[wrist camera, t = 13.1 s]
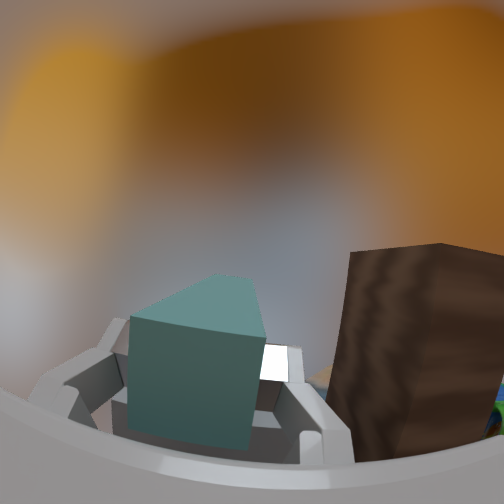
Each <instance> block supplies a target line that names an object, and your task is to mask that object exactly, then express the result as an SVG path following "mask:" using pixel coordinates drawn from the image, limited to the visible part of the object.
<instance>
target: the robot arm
mask: <svg viewBox="0 0 504 504" xmlns="http://www.w3.org/2000/svg"><path fill="white" fill-rule="evenodd" d="M129 327H130V320H125V319H121V318H117V317H116V318H114V319H113V320H112V322H111V323H110V325H109V327H108V328H107V330H106V332H105V333H104V335H103V337H102V339H101V341H100V342H99V344H98V346H97V347H96V348H93V347H92V348H90V349H88V350H87V351H85V352H83V353H81V354H80V355H78V356H76V357H74V358H72V359H70V360H68V361H66V362H65V363H63V364H61V365H59V366H57V367H55V368H53V369H52V370H50V371H48V372H46V373H44V374H42V376H41V378H40V380H39V381H38V383H37V385H36V386H35V388H34V389H33V391H32V393H31V395H30V396H29V398H28V400H25V399H23V398H20V397H19V396H17V395H15V394H13V393H11V392H9V391H7V390H5V389H3V388H2V387H0V504H504V435H497V436H494V437H491V438H488V439H485V440H481V441H478V442H474V443H471V444H467V445H463V446H459V447H455V448H451V449H447V450H442V451H438V452H433V453H428V454H422V455H417V456H411V457H404V458H397V459H390V460H381V461H371V462H359V463H355V461H354V453H353V446H352V439H351V433H350V429H349V428H348V427H347V426H346V425H345V424H344V423H343V422H342V420H341V419H340V418H339V417H338V416H337V415H336V414H335V413H334V411H333V410H332V409H331V408H330V407H329V406H328V405H327V403H326V402H325V401H324V400H323V399H322V398H321V397H320V395H319V394H318V393H317V392H316V391H315V390H314V389H313V387H312V386H311V385H310V384H307V383H305V376H304V364H303V353H302V348H301V346H291V345H279V344H270V343H266V344H265V350H264V356H263V363H262V369H261V375H260V382H259V388H258V394H257V400H256V406H255V410H258V411H266V412H273V415H274V416H275V418H276V420H277V421H278V423H279V425H280V426H281V428H282V429H283V431H284V433H285V434H286V436H287V437H288V439H289V441H290V442H291V444H292V445H293V446H292V448H291V450H290V451H289V453H288V455H287V456H286V458H285V459H284V461H283V463H282V464H278V463H262V462H250V461H240V460H231V459H223V458H216V457H209V456H203V455H197V454H191V453H186V452H180V451H175V450H171V449H166V448H162V447H157V446H153V445H149V444H145V443H141V442H137V441H134V440H130V439H127V438H123V437H120V436H116V435H113V434H110V433H107V432H104V431H101V430H98V428H97V426H96V424H95V422H94V421H93V419H92V417H91V415H90V414H91V413H93V412H94V411H95V410H96V409H98V408H99V407H100V406H101V405H103V404H104V403H105V402H106V401H108V400H109V399H110V398H111V397H113V396H114V395H115V394H116V393H118V392H119V391H120V390H122V389H123V387H127V371H128V344H129Z"/></svg>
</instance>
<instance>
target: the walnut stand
mask: <svg viewBox="0 0 504 504" xmlns="http://www.w3.org/2000/svg"><path fill="white" fill-rule="evenodd" d="M503 375H504V256H501V255H497V254H491V253H487V252H483V251H478V250H473V249H468V248H463V247H458V246H453V245H448V244H443V243H437V244H427V245H418V246H408V247H398V248H388V249H378V250H368V251H358V252H350V260H349V268H348V277H347V285H346V291H345V299H344V305H343V312H342V318H341V325H340V330H339V336H338V342H337V347H336V353H335V359H334V363H333V368H332V373H331V378H330V383H329V387H328V392H327V396H326V401H325V402H326V403H327V405H328V406H329V407H330V408H331V409H332V410H333V411H334V413H335V414H336V415H337V416H338V417H339V418H340V419H341V420H342V422H343V423H344V424H345V425H346V426H347V427H348V428H349V429H350V433H351V439H352V446H353V453H354V461H355V463H359V462H371V461H381V460H390V459H397V458H404V457H411V456H417V455H422V454H428V453H433V452H438V451H442V450H447V449H451V448H455V447H459V446H463V445H467V444H471V443H474V442H478V441H480V440H481V438H482V436H483V433H484V431H485V428H486V426H487V423H488V420H489V418H490V415H491V412H492V410H493V407H494V404H495V401H496V398H497V395H498V392H499V388H500V385H501V382H502V378H503Z"/></svg>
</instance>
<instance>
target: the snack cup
mask: <svg viewBox="0 0 504 504" xmlns="http://www.w3.org/2000/svg"><path fill="white" fill-rule="evenodd" d="M497 435H504V384H502V383H501V385H500V388H499V392H498V395H497V398H496V401H495V404H494V407H493V410H492V412H491V415H490V418H489V420H488V423H487V426H486V428H485V431H484V433H483V436H482V438H481V440H485V439H488V438H491V437H494V436H497ZM481 440H480V441H481Z"/></svg>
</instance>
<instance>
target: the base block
mask: <svg viewBox="0 0 504 504" xmlns="http://www.w3.org/2000/svg"><path fill="white" fill-rule="evenodd" d="M111 403H112V425H113V435H116V436H120V437H123V438H127V439H130V440H134V441H137V442H141V443H145V444H149V445H153V446H157V447H162V448H166V449H171V450H175V451H180V452H186V453H191V454H197V455H203V456H209V457H216V458H223V459H231V460H240V461H250V462H262V463H278V464H282V463H283V461H284V459H285V458H286V456H287V455H288V453H289V451H290V450H291V448H292V446H293V445H292V444H291V442H290V441H289V439H288V437H287V436H286V434H285V433H284V431H283V429H282V428H281V426H280V425H279V423H278V421H277V420H276V418H275V416H274V415H273V412H266V411H258V410H255V412H254V418H253V423H252V429H251V435H250V441H249V446H248V451H245V450H236V449H227V448H220V447H213V446H206V445H200V444H194V443H189V442H183V441H178V440H173V439H169V438H164V437H160V436H155V435H151V434H147V433H143V432H139V431H135V430H132V429H128V421H127V387H123V389H122V390H120V391H119V392H118V393H117V394H116V395H115V397H113V398H112V401H111Z"/></svg>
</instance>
